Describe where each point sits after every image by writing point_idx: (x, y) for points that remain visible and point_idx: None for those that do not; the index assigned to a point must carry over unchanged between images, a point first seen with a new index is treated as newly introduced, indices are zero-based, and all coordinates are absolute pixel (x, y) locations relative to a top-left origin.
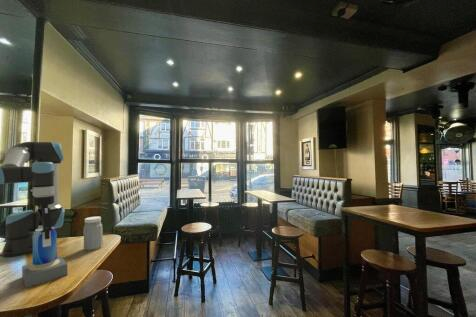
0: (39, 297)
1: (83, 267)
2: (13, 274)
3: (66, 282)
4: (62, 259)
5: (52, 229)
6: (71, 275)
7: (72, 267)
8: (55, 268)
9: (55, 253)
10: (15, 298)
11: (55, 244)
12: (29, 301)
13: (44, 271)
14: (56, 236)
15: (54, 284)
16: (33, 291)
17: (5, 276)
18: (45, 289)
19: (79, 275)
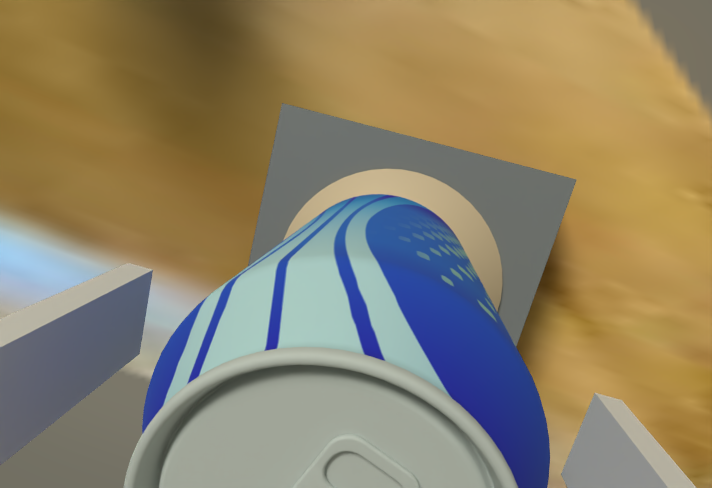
0: (702, 412)
1: (530, 30)
2: (148, 336)
3: (672, 240)
4: (404, 144)
5: (486, 426)
6: (587, 162)
7: (431, 78)
8: (542, 264)
9: (458, 242)
10: (560, 468)
11: (468, 265)
12: (690, 455)
13: (516, 333)
14: (441, 262)
15: (611, 292)
16: (573, 392)
17: (139, 369)
18: (625, 350)
19: (657, 132)
